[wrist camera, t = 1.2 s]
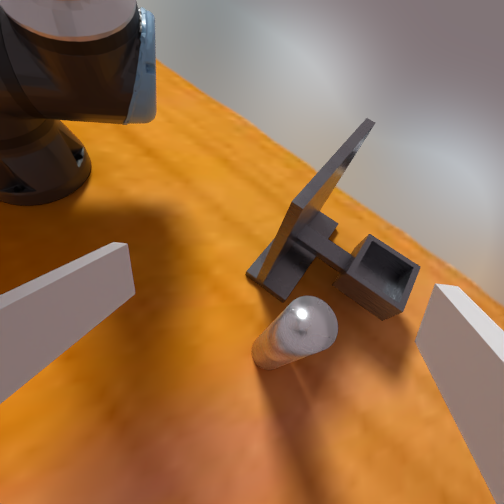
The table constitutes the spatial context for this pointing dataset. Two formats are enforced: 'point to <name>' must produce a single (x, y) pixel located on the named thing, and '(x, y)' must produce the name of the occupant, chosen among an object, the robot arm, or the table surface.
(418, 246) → the table surface
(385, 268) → the cup bracket
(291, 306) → the rail post
